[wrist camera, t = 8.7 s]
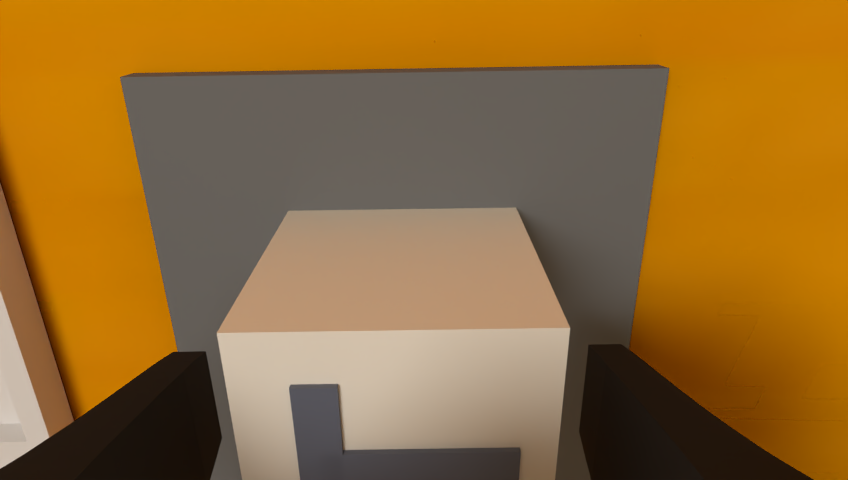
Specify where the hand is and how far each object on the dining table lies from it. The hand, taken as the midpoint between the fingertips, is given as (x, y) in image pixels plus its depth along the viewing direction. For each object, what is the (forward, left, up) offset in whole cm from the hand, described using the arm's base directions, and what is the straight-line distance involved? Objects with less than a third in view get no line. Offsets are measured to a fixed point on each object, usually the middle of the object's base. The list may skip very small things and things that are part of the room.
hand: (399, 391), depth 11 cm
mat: (0, 0, -4) cm, 4 cm away
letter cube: (0, 0, -3) cm, 3 cm away
